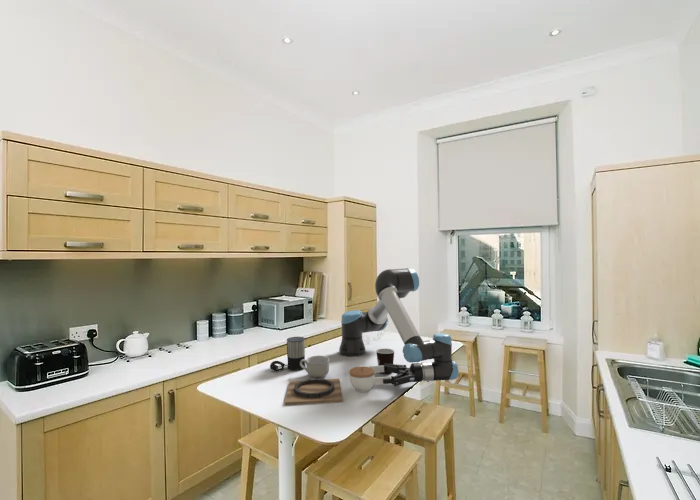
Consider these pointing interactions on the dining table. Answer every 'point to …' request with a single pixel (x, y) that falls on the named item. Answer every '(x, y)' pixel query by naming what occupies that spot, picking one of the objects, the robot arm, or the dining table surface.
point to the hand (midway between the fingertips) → (371, 375)
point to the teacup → (316, 366)
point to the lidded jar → (362, 378)
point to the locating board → (314, 391)
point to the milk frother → (292, 355)
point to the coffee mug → (385, 357)
